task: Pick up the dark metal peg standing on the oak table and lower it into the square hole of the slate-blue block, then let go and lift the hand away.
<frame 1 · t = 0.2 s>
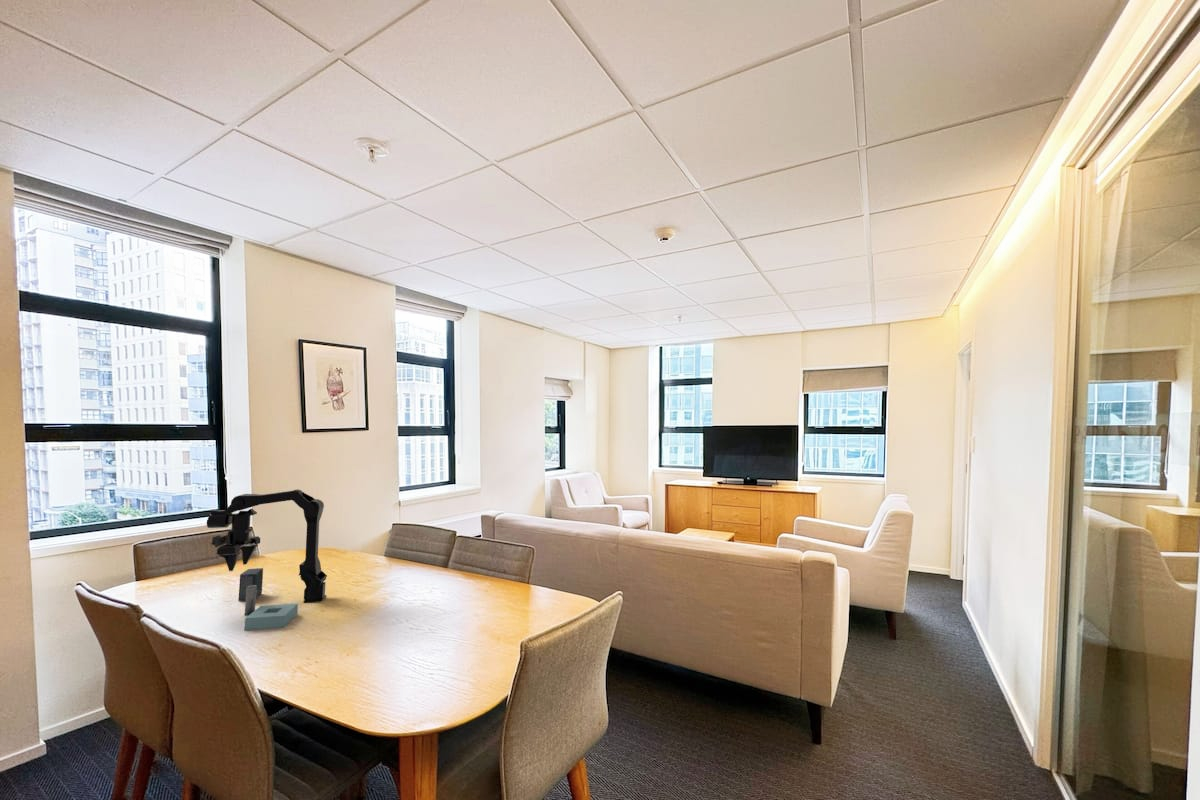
hand: (238, 567, 183), 14 cm above the table, tool pointing down, fingers open, 9 cm apart
hole block: (271, 622, 167), on the table
box: (250, 598, 191), on the table
peg: (249, 614, 173), on the table
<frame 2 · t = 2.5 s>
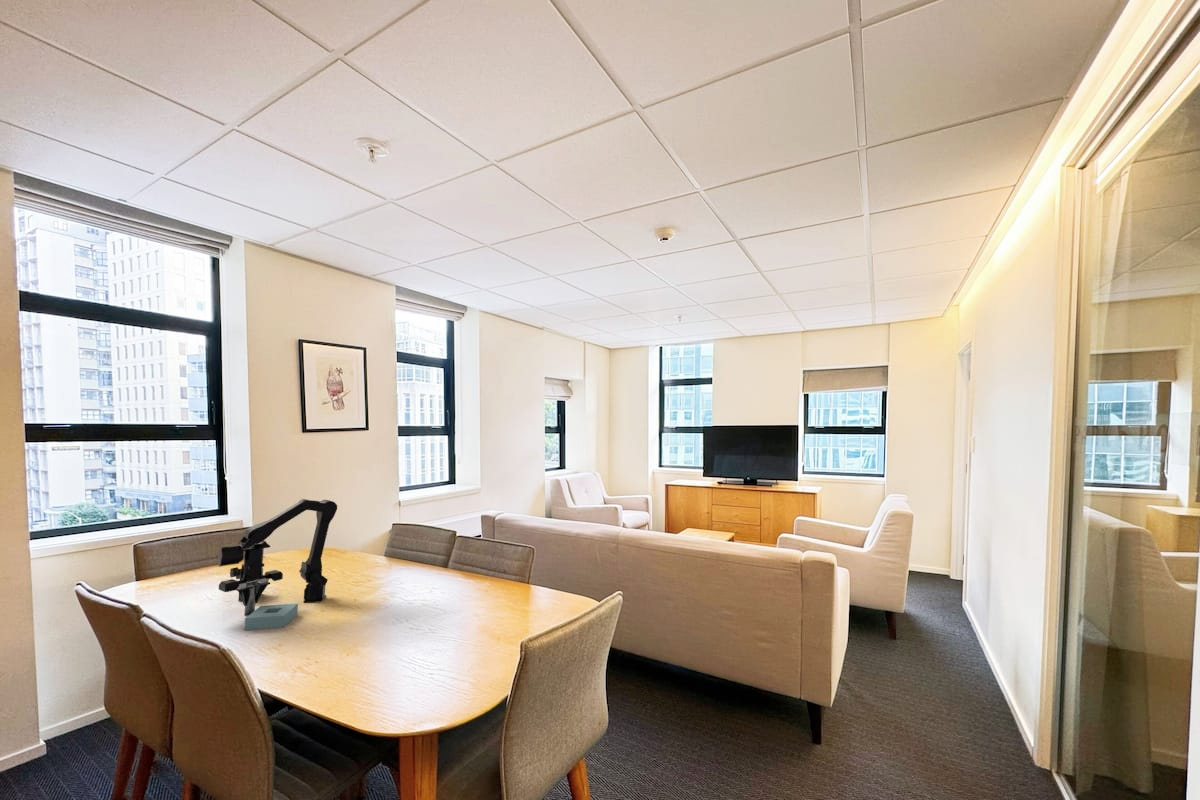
hand: (250, 604, 174), 4 cm above the table, tool pointing down, fingers closed on peg, 3 cm apart
peg: (249, 614, 173), on the table, touching gripper
everything else where it was.
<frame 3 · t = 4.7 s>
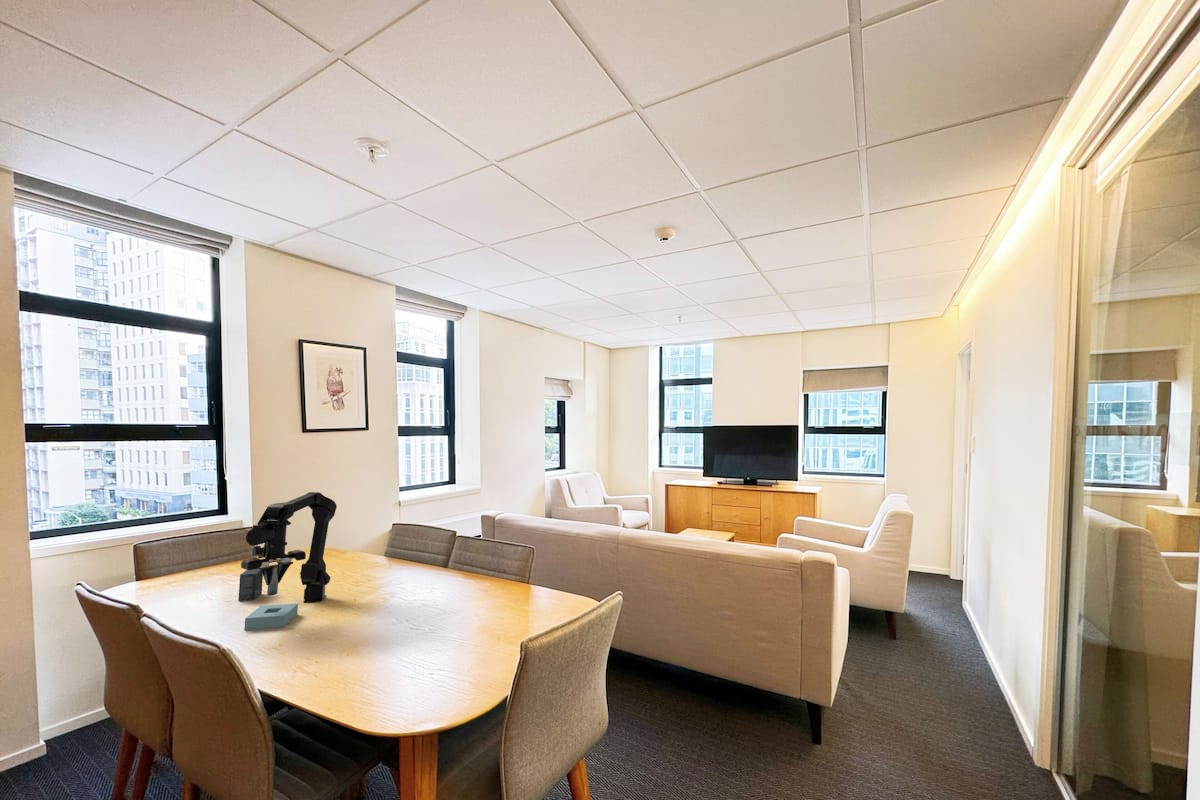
hand: (273, 584, 168), 13 cm above the table, tool pointing down, fingers closed on peg, 3 cm apart
peg: (272, 594, 168), point 10 cm above the table, touching gripper
everything else where it was.
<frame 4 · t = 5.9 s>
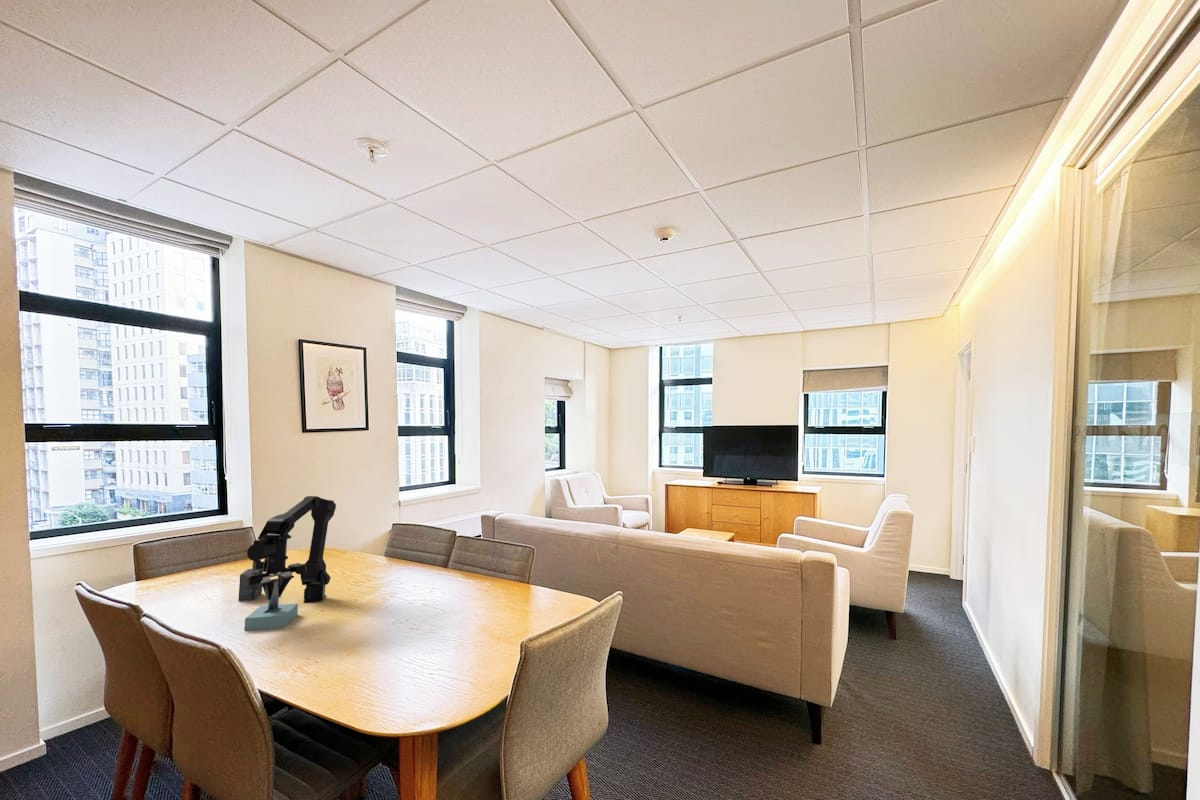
hand: (273, 598, 167), 8 cm above the table, tool pointing down, fingers closed on peg, 3 cm apart
peg: (273, 608, 167), point 5 cm above the table, touching gripper
everything else where it was.
when the fingers open (5 cm above the table, at t = 6.8 s): peg drops 2 cm, resting in hole block.
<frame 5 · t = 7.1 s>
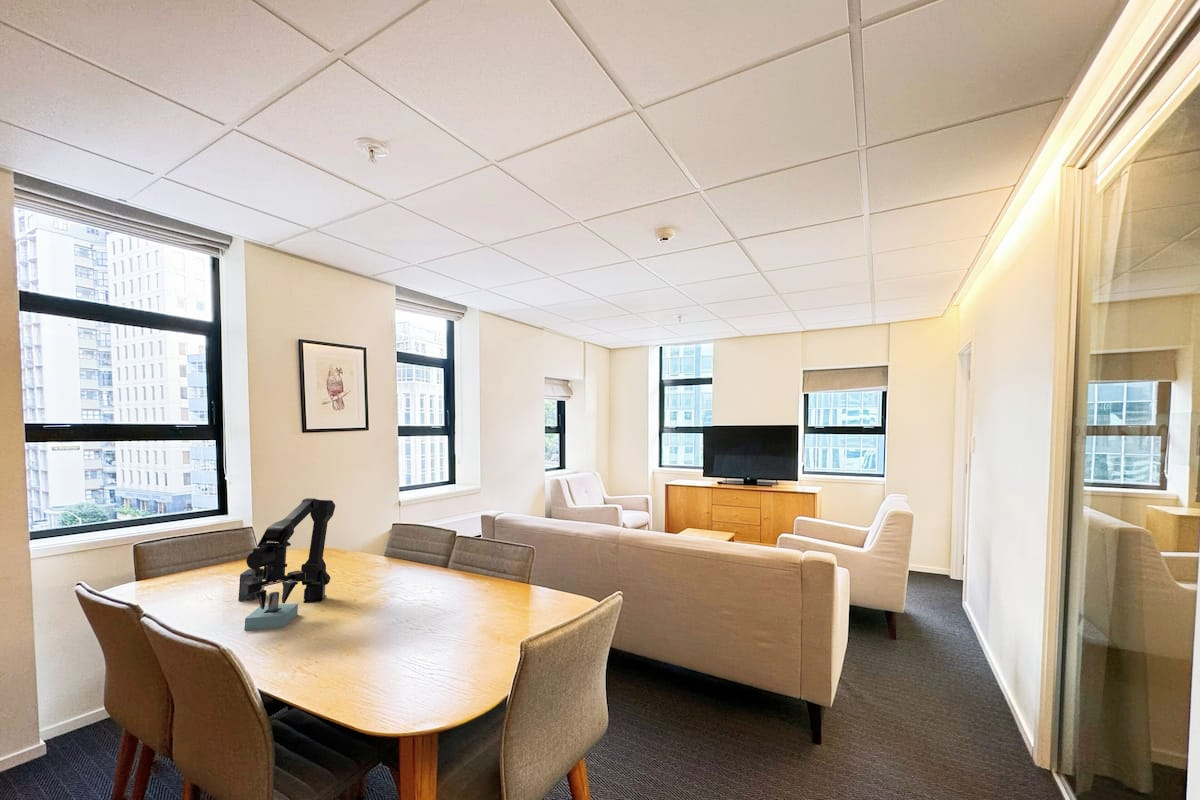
hand: (273, 606, 167), 5 cm above the table, tool pointing down, fingers open, 6 cm apart
peg: (272, 622, 167), resting in hole block
everything else where it was.
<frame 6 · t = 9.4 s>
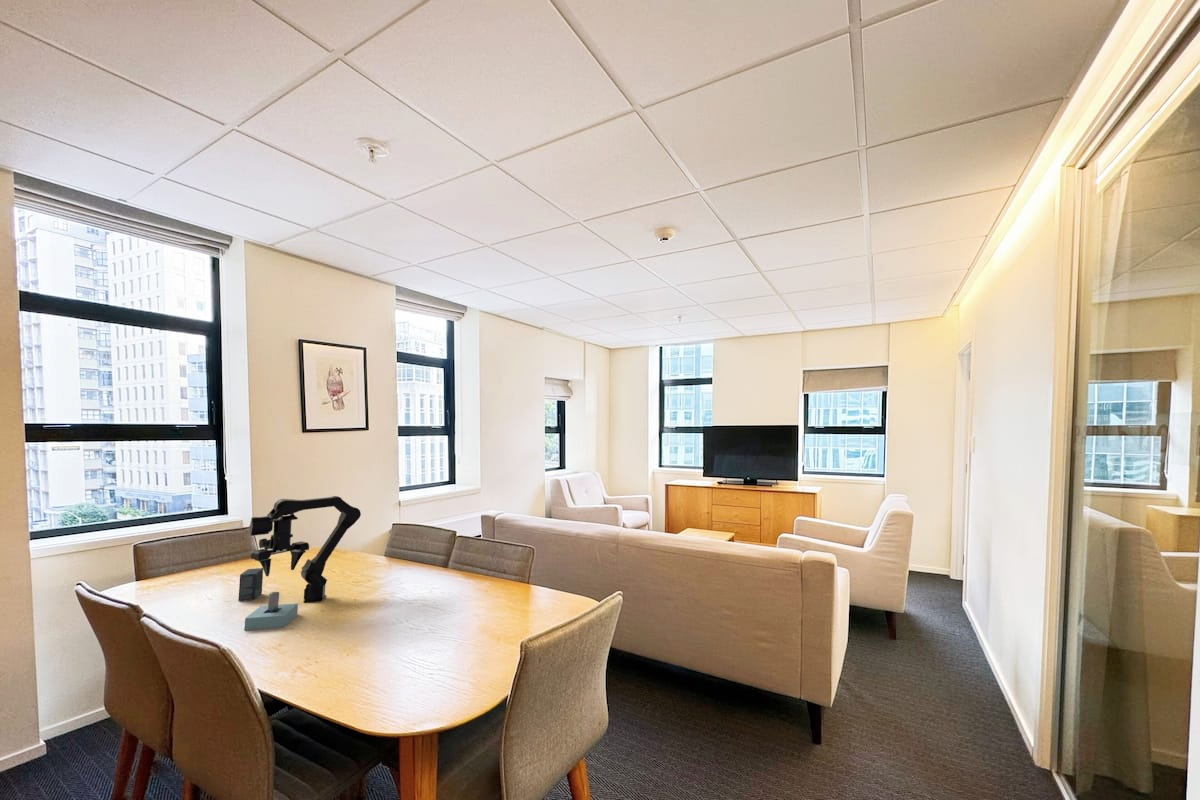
hand: (280, 573, 182), 13 cm above the table, tool pointing down, fingers open, 9 cm apart
nothing on the table moved.
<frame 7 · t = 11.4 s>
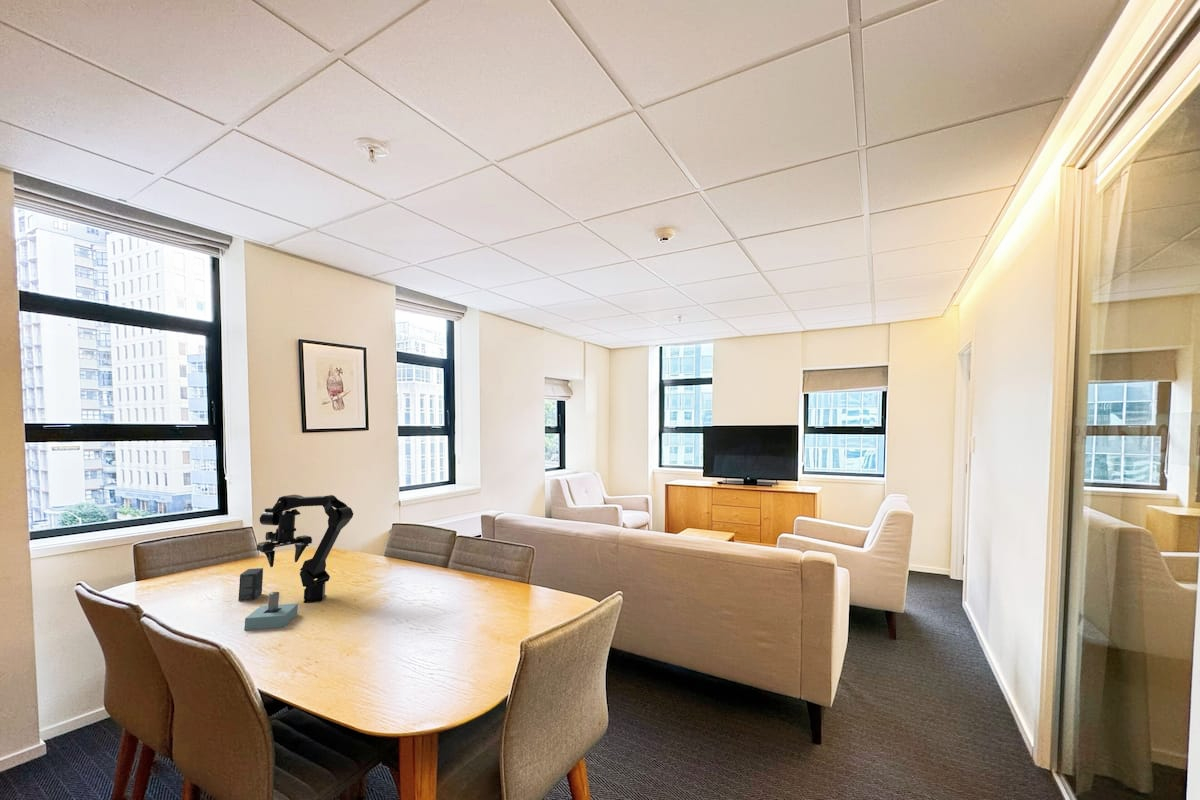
hand: (283, 564, 193), 13 cm above the table, tool pointing down, fingers open, 9 cm apart
nothing on the table moved.
at the end: peg 0.1 cm off-centre on the hole block, point 0.0 cm above the hole block's base; peg tilted 0°; the gripper is holding nothing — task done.
